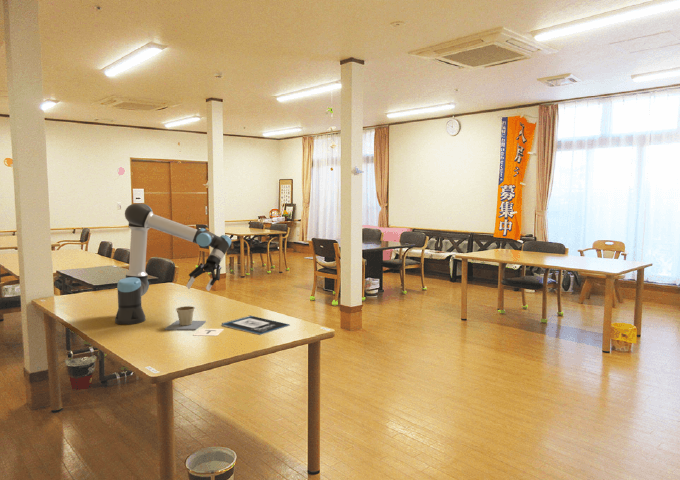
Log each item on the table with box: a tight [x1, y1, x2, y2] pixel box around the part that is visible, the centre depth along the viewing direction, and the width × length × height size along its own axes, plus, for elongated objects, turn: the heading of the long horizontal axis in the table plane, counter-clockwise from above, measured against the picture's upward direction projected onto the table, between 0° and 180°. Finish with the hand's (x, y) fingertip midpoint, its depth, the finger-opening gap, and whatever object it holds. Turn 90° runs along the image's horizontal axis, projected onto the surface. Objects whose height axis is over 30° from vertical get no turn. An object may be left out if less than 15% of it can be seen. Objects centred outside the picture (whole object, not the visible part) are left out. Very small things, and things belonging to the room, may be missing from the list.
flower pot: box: [175, 305, 195, 326], centre depth 242 cm, size 9×9×9 cm
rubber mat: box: [164, 319, 207, 331], centre depth 242 cm, size 16×16×1 cm
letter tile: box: [192, 328, 225, 337], centre depth 230 cm, size 12×12×1 cm
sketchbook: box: [221, 315, 291, 336], centre depth 243 cm, size 22×30×2 cm
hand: (197, 288), depth 251 cm, fingers open, 13 cm apart
